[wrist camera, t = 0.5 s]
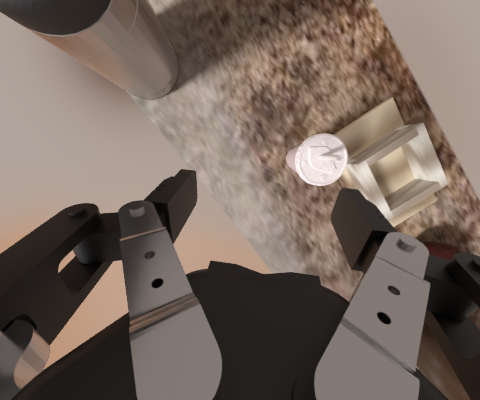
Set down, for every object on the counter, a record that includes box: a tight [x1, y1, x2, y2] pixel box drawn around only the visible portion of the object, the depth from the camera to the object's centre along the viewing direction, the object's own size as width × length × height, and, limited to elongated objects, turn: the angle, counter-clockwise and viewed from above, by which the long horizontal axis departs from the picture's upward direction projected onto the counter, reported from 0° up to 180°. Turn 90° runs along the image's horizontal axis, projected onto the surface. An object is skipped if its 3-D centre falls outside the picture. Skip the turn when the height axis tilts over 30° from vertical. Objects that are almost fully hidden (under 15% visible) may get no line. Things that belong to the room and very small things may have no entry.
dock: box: [334, 97, 448, 227], centre depth 33 cm, size 20×12×5 cm, turn 34°
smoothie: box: [286, 133, 348, 186], centre depth 27 cm, size 6×6×14 cm
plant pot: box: [416, 322, 470, 400], centre depth 36 cm, size 15×15×16 cm
